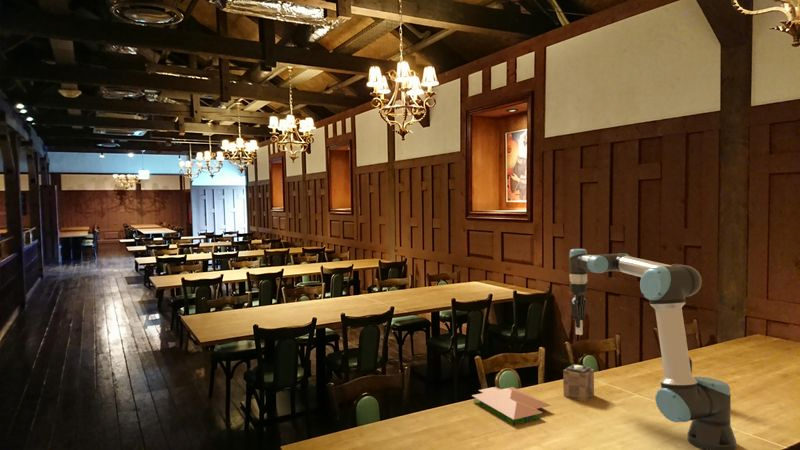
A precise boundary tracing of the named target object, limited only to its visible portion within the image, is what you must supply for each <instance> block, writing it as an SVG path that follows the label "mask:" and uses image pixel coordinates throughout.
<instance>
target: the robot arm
mask: <svg viewBox="0 0 800 450" xmlns="http://www.w3.org/2000/svg"><path fill="white" fill-rule="evenodd" d="M568 260H569V262H568V263H569V275H568V277H569V282H570V283H569V291H570V292H572V299H570V301H569V302H570V305H571V313H572V320H573V321H574V322H575V335H579V336H582V335H583V333H584V331H583V329H584V328H583V321H585V317H586V306H587V299H588V297H587V296H586V295H585V293H587V292H588V284H587V283H588V272H589V273H594V274H603V273H605V272H618V273H624V274H627V275H632V276H635V277H639V278H640V282H639V288H640V291H641V295H643V297H644V298H645V299H646V300H648V301H649V305H650V306H651V307H652V308H653V309H654V311H655V318H656V326H657V331H658V340H659V347H660V353H661V361H662V369H663V377H662V379H660V387H661V388H659V389H658V390H657V391H656V393H655V395H654V396H655V399H654V400H655V404H656V407H657V408H658V410H659V412H660V414H662V415H663V416H664V418H666V419H667V420H668V421H671V422H673V423H687V422H690V421H691V422H690V426H689V428H688V430H687V441H688V442H689V443H690V444H691V445H693V446H695V447H697V448H700V449H701V450H702V449H703V450H737V439H736V436H735V434H734V431H733V429H732V425H731V414H732V413H731V398H732V394H731V387H730V386H729V384H728V383H726V382H724V381H723V380H719V379H717V378H712V377H706V376H694V377H693V374H692V375H691V368H690V361H689V357H690V356H689V351H688V350H689V349H688V348H689V347H688V343H687V342H688V341H687V333H686V329H685V322H684V316H683V309H682V308H683V307H684V305H686V303H687V302H686V298H687V297H691V296H693V295H695V294H697V293H698V292H699V290H700V289H701V287H702V282H703V281H702V277H701V274H700V272H699V271H698V270H697V269H696V268H694V267H693V266H690V265H684V264H680V263H679V264H678V263H674V264H671V265H670V264H666V263H661V262H657V261H652V260H648V259H644V258H643V259H642V258H638V257H634V256H631V255H629V254H628V253H621V252H618V253H609V254H605V253H603V254H588V251H587V249H585V248H572V249H570V250H569V257H568ZM685 333H686V334H685Z"/></svg>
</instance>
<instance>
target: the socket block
mask: <svg viewBox="0 0 800 450" xmlns="http://www.w3.org/2000/svg"><path fill="white" fill-rule="evenodd" d="M574 365H577V364H575V363H574V364H572V365H570V366H568V367H566V368H565V369H563V370H562V371H563V375H562V376H563V378H562V380H563V397H565V398H570V399H573V400H576V401H577V400H578V401H580V402H581V401H582V402H586V401H588V400H589V399H591V398H592V397H594V396H595V375H594V374H595V372H594V371H595V370H594V369H593V368H592V367H590V366H586V365H582V366H583V370H579V369H574Z"/></svg>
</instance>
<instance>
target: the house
mask: <svg viewBox="0 0 800 450" xmlns="http://www.w3.org/2000/svg"><path fill="white" fill-rule="evenodd" d="M478 392H480V393H477V394H472V395H471V397H473V402H474V403H476V404H478V405H479V406H480V407H483V406H484V407H487V409H489V410H490V412H491V413H492V414H495V413H497V412H498V413H499V414H498V416H499V417H500V418H502V417H504V421H507V420H508V421H509V424H512V421H516V425H519V420H520V419H521V422H524V424H525V423H526V422H527V419H528V420H531V418H532V419H534V421H537V420H540V418H541V414H543V411H540V410H539V409H542V408H546V407H550V406H551V405H552V404H549V403H547V402H545V401H543V400H540V399H538V398H537V397H534V396H533V395H530V394H528V393H526V392H524V391H521V390H520V389H517V388H516V387H514V386H511V387H506V388H499V387H497V386H494V387H493V386H492V387H487V388H482V389H478Z"/></svg>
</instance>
